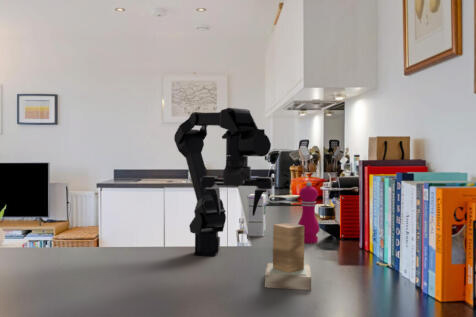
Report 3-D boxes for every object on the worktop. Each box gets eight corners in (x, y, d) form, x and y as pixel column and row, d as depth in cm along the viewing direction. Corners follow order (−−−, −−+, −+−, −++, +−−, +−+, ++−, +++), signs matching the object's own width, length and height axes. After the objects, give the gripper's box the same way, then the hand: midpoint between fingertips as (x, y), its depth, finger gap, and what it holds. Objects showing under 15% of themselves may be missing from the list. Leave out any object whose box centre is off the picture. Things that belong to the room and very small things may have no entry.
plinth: (264, 287, 92) (265, 273, 92) (267, 274, 102) (267, 262, 102) (311, 289, 91) (311, 276, 91) (309, 276, 101) (309, 263, 101)
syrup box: (263, 236, 147) (264, 195, 147) (247, 235, 148) (247, 195, 148) (265, 233, 153) (266, 193, 153) (249, 232, 154) (250, 193, 154)
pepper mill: (320, 240, 143) (321, 181, 142) (317, 244, 136) (318, 182, 135) (299, 238, 145) (300, 180, 145) (295, 242, 138) (296, 182, 138)
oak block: (288, 273, 93) (288, 228, 93) (272, 268, 97) (273, 224, 97) (303, 269, 96) (304, 225, 96) (288, 264, 100) (288, 222, 100)
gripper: (195, 155, 104) (194, 218, 104) (270, 156, 102) (269, 221, 102) (204, 155, 115) (204, 212, 115) (272, 156, 113) (272, 214, 113)
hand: (236, 215), depth 111 cm, fingers open, 9 cm apart
